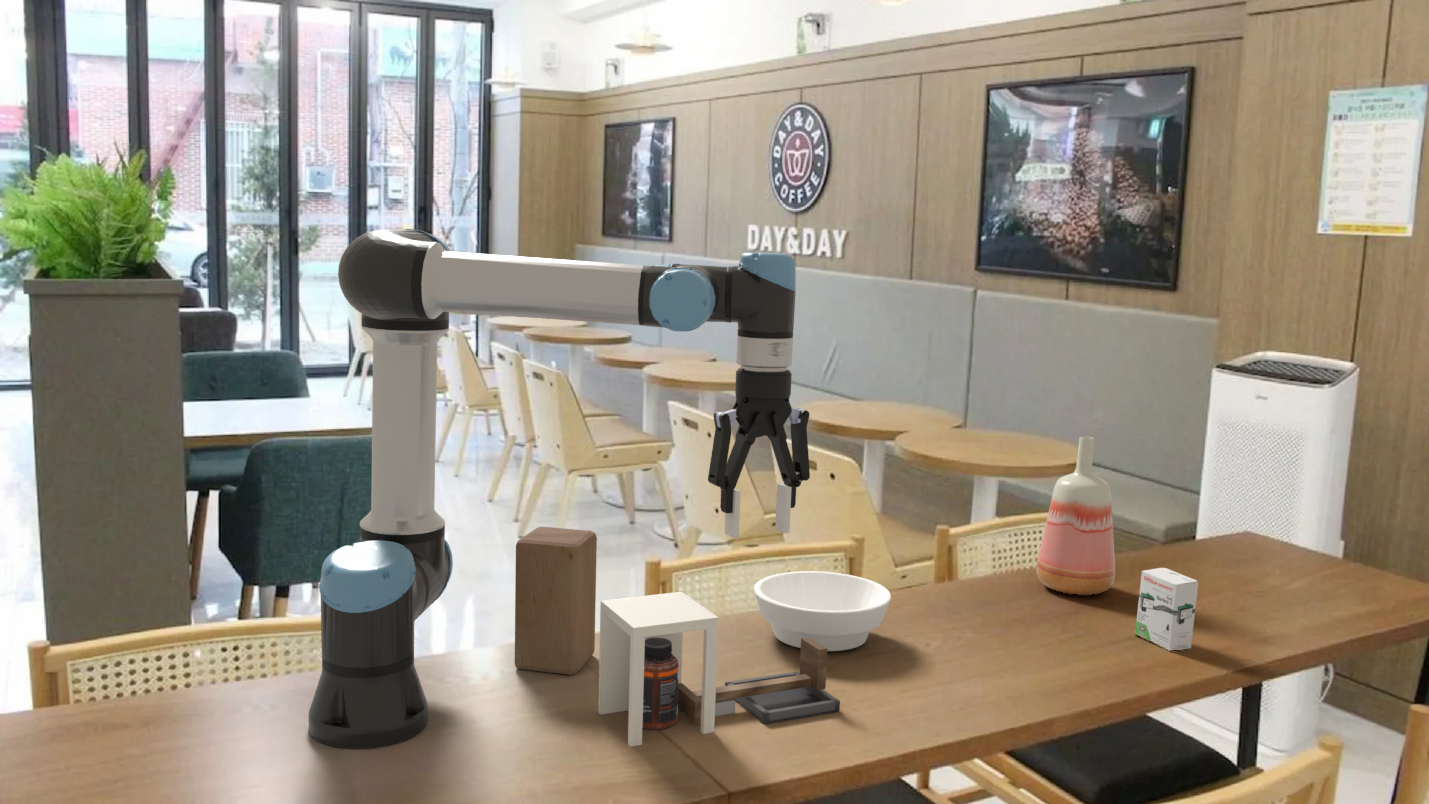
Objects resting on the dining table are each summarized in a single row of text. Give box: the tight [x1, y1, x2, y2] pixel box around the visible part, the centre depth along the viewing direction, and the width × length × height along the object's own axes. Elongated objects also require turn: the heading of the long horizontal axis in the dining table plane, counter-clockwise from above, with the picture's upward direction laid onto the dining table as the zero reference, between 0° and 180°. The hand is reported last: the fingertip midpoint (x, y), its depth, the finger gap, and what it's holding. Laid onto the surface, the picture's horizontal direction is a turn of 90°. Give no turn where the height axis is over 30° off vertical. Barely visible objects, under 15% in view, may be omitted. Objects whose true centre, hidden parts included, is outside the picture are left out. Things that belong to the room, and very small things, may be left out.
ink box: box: [1134, 567, 1199, 651], centre depth 201 cm, size 9×5×12 cm, turn 23°
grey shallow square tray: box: [724, 671, 841, 725], centre depth 170 cm, size 12×12×2 cm
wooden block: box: [514, 526, 598, 676], centre depth 181 cm, size 10×10×20 cm
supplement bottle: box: [642, 638, 679, 730], centre depth 161 cm, size 6×6×11 cm
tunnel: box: [597, 591, 736, 748], centre depth 162 cm, size 18×12×16 cm
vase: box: [1035, 435, 1116, 596], centre depth 228 cm, size 14×14×30 cm
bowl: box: [753, 570, 892, 652], centre depth 197 cm, size 22×22×8 cm
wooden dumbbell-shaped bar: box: [678, 637, 828, 725], centre depth 168 cm, size 21×7×8 cm, turn 116°
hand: (757, 533), depth 165 cm, fingers open, 7 cm apart
